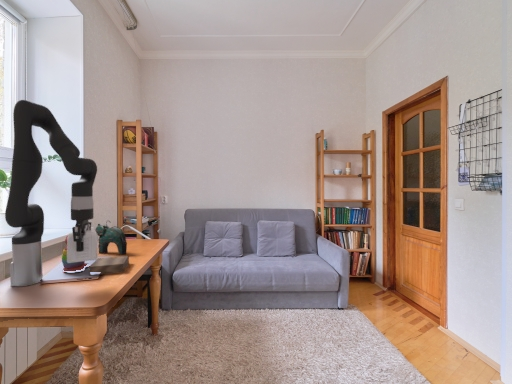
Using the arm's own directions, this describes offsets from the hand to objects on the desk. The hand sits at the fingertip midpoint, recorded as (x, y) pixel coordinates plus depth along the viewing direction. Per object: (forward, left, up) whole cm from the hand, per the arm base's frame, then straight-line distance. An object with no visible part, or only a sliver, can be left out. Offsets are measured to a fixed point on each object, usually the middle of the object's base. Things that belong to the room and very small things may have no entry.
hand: (82, 249), depth 102 cm
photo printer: (0, 0, -5) cm, 5 cm away
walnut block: (+5, +20, -15) cm, 26 cm away
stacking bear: (-11, +24, -15) cm, 30 cm away
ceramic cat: (-1, +52, -15) cm, 54 cm away
